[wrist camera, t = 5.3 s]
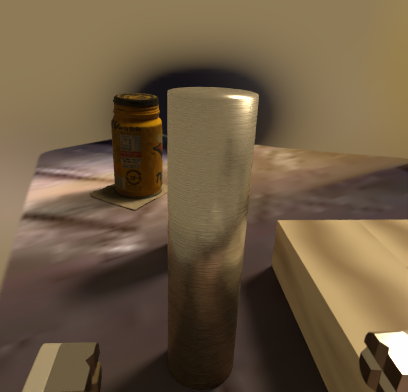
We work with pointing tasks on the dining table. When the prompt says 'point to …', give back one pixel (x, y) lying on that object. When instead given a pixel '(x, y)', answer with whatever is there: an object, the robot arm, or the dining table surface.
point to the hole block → (343, 288)
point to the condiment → (135, 152)
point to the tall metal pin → (207, 227)
